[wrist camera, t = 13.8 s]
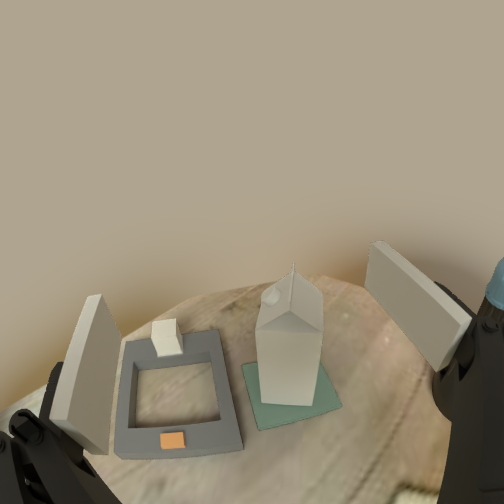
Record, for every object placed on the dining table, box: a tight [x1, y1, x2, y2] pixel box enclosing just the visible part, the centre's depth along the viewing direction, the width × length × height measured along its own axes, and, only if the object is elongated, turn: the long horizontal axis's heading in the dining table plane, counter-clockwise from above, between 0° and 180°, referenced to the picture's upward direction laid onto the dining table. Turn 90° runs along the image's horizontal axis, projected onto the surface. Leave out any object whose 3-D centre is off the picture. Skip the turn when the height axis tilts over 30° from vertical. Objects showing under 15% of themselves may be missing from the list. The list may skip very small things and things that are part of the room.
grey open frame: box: [114, 318, 244, 460], centre depth 36 cm, size 17×22×7 cm
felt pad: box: [242, 362, 342, 431], centre depth 38 cm, size 12×12×1 cm
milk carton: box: [255, 263, 324, 406], centre depth 33 cm, size 7×7×19 cm
